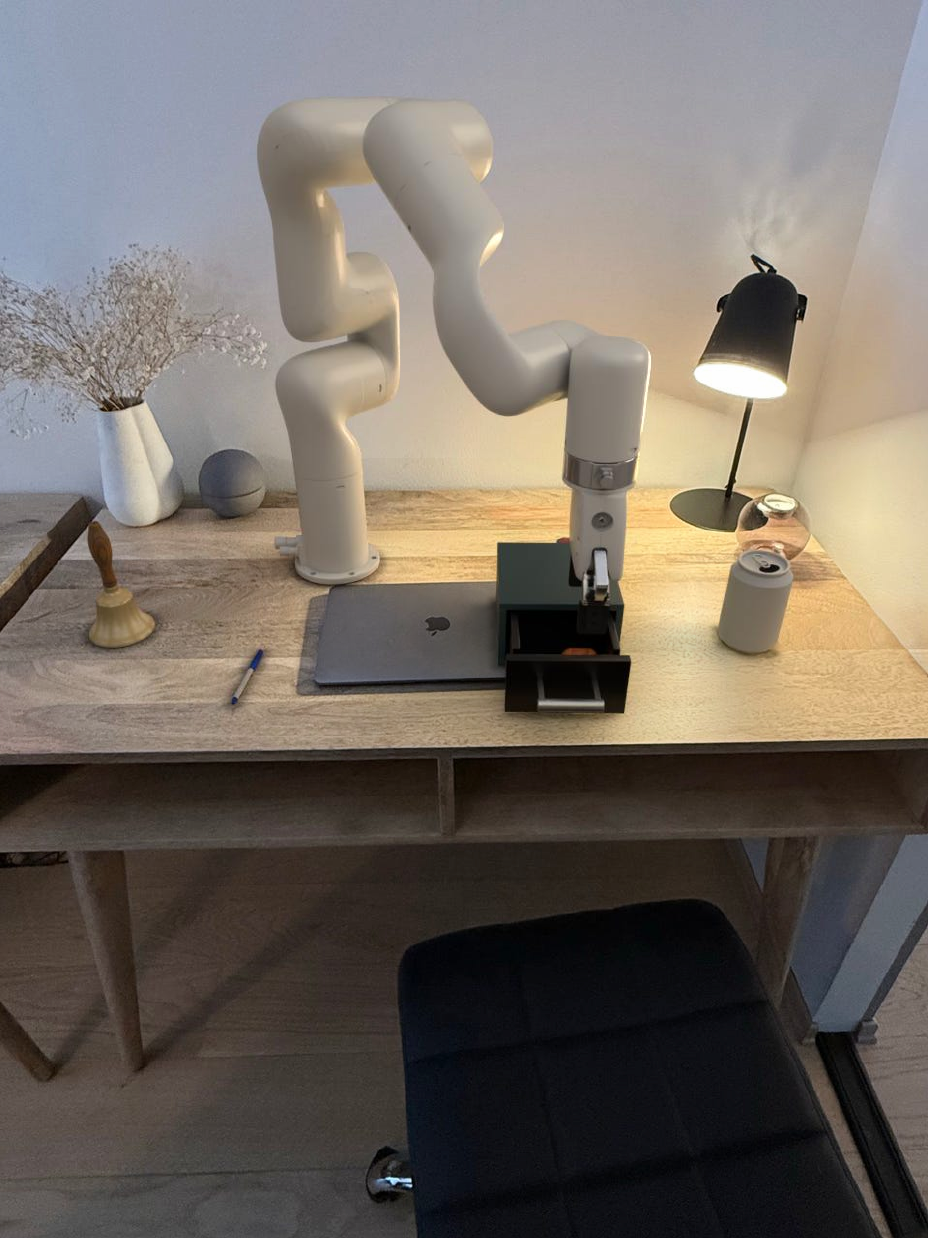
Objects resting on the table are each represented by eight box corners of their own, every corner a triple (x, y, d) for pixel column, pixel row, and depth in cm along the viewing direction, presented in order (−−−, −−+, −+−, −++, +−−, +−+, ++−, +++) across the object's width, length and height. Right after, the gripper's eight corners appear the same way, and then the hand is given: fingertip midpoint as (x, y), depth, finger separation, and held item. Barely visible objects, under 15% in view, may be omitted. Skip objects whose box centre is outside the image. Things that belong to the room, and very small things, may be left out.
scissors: (595, 660, 100) (597, 644, 99) (601, 686, 96) (602, 670, 94) (517, 659, 100) (518, 643, 99) (519, 686, 96) (520, 669, 94)
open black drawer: (630, 743, 89) (638, 689, 85) (505, 741, 90) (507, 688, 86) (608, 642, 105) (614, 592, 101) (501, 641, 105) (503, 591, 101)
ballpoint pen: (257, 652, 105) (256, 646, 104) (264, 653, 105) (263, 646, 104) (230, 705, 96) (229, 698, 96) (238, 706, 96) (237, 699, 96)
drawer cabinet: (616, 667, 102) (624, 604, 97) (497, 666, 102) (499, 603, 97) (601, 601, 115) (608, 542, 110) (495, 600, 115) (497, 541, 110)
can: (744, 663, 103) (764, 581, 96) (704, 633, 108) (719, 553, 102) (788, 647, 106) (810, 566, 99) (747, 618, 111) (765, 540, 105)
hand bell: (168, 619, 111) (142, 512, 103) (128, 653, 105) (97, 542, 96) (117, 608, 114) (87, 503, 105) (75, 641, 107) (40, 532, 98)
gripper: (652, 503, 76) (631, 653, 86) (624, 434, 90) (609, 569, 100) (570, 503, 76) (559, 653, 86) (556, 434, 91) (547, 569, 100)
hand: (586, 608), depth 93 cm, fingers open, 9 cm apart
